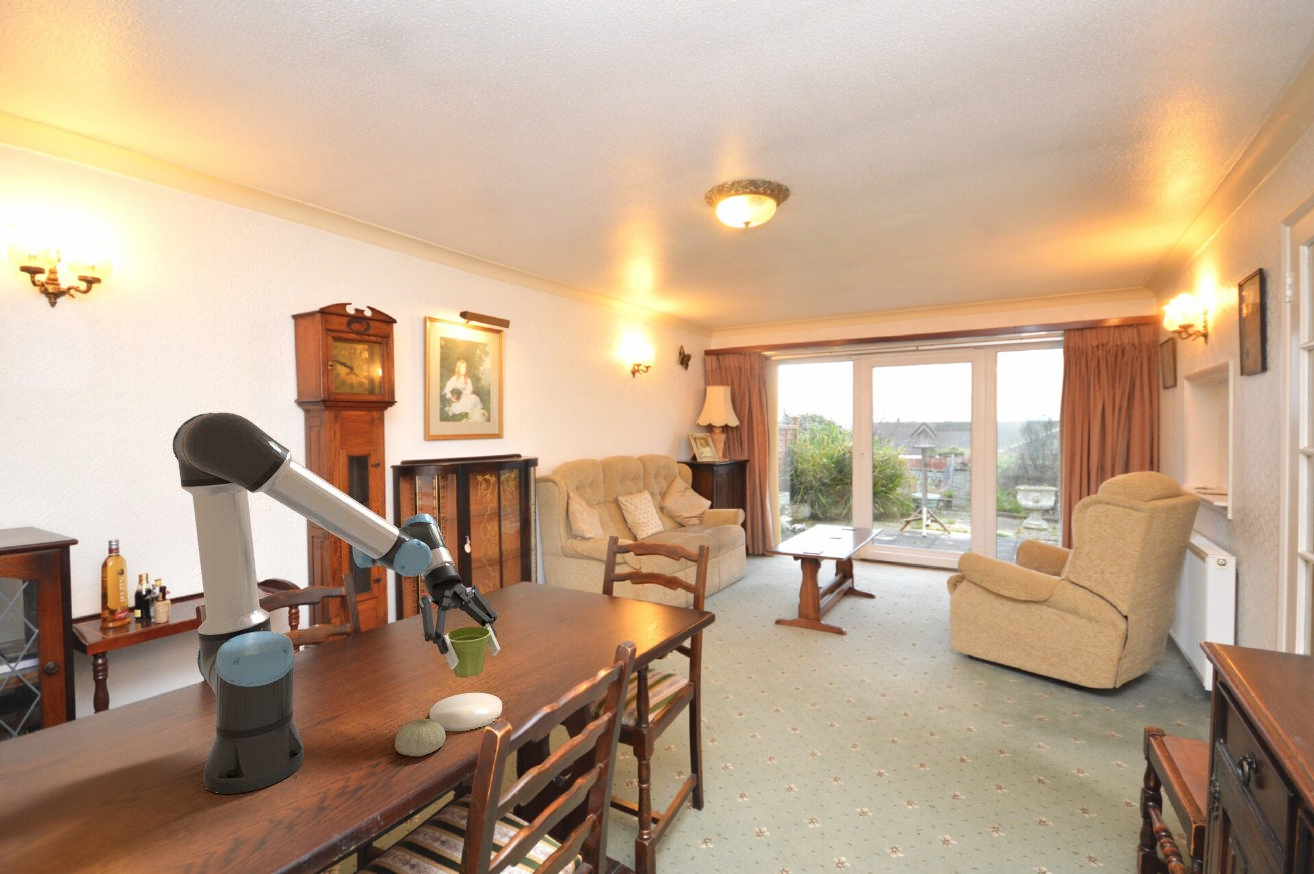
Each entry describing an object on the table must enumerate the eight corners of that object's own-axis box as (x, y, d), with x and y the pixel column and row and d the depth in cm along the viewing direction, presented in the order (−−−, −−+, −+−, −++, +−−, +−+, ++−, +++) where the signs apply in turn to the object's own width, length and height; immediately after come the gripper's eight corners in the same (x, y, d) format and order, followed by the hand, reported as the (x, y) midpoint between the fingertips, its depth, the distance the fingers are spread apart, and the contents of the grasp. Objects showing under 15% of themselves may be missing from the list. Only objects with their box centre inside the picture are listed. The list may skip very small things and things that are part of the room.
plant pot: (477, 683, 127) (477, 642, 127) (436, 679, 129) (436, 638, 129) (498, 666, 136) (498, 628, 136) (459, 663, 138) (459, 625, 138)
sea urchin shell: (419, 756, 112) (399, 718, 115) (399, 777, 115) (381, 739, 118) (458, 735, 120) (439, 700, 122) (439, 755, 122) (421, 720, 125)
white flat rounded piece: (452, 739, 122) (452, 731, 122) (416, 715, 132) (416, 708, 132) (515, 713, 133) (515, 706, 133) (478, 693, 143) (478, 687, 143)
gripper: (475, 574, 151) (512, 654, 140) (386, 591, 134) (421, 683, 124) (487, 556, 147) (526, 636, 137) (397, 571, 131) (434, 664, 120)
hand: (476, 658), depth 130 cm, fingers closed on plant pot, 9 cm apart
